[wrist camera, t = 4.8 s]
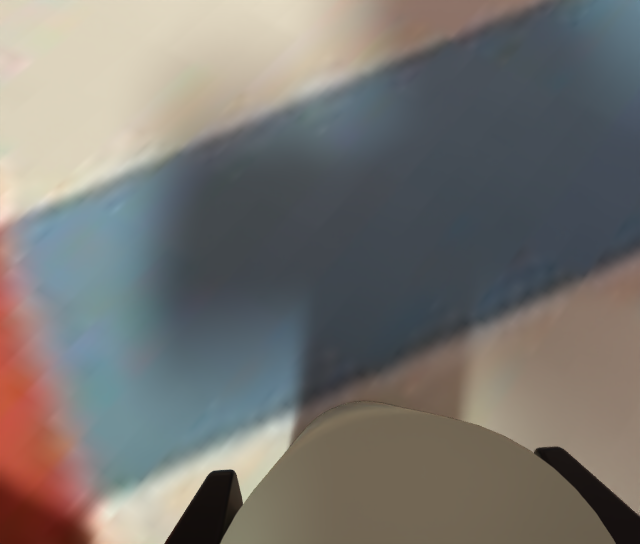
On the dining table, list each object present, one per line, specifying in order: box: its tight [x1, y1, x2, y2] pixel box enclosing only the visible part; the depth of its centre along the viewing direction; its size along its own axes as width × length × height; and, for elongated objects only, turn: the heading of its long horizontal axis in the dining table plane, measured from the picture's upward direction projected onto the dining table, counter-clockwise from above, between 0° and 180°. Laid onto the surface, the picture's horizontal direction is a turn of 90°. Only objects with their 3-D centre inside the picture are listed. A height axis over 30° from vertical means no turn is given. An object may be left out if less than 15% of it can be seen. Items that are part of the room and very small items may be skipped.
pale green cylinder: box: [220, 401, 616, 544], centre depth 11 cm, size 5×5×10 cm
